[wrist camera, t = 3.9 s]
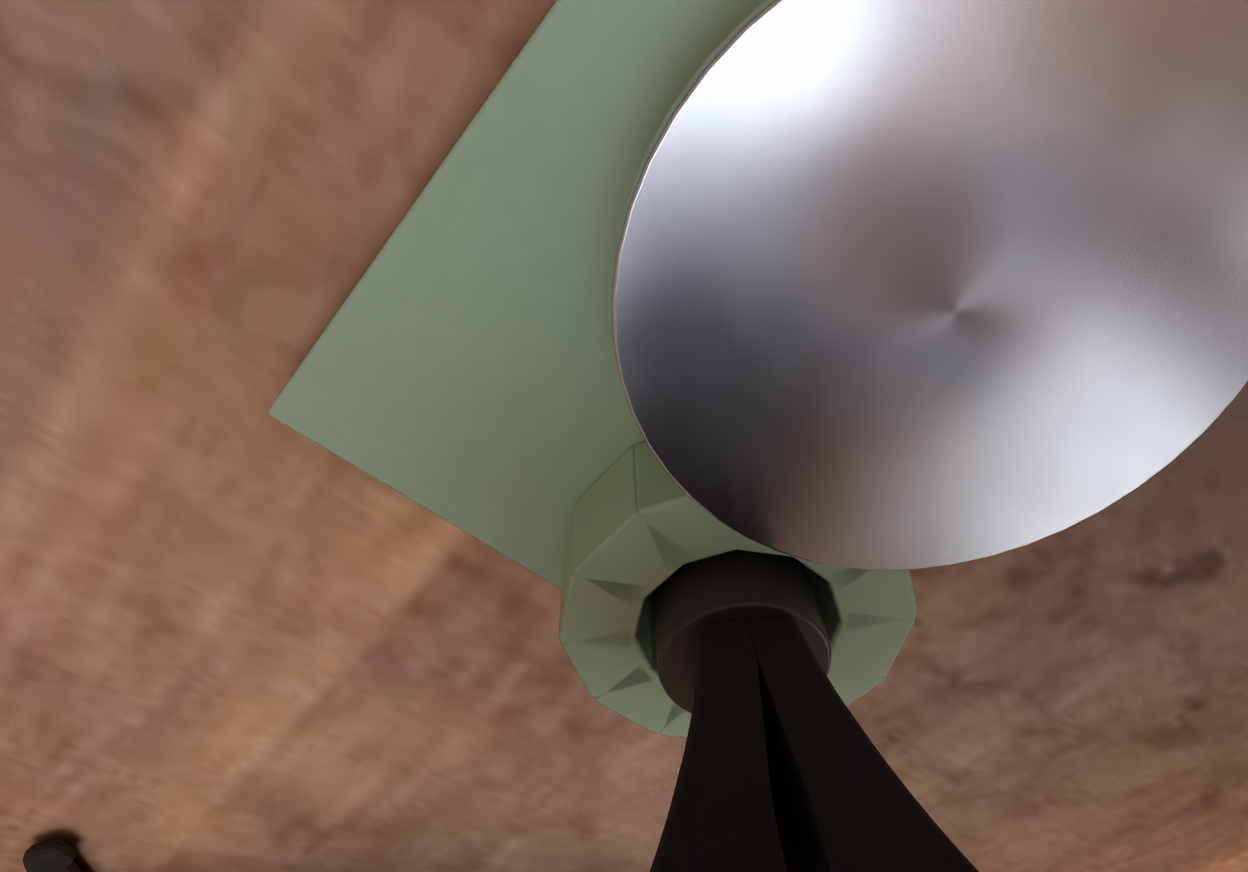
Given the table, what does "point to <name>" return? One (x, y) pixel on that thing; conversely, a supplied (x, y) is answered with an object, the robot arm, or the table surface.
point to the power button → (729, 609)
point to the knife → (50, 857)
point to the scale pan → (939, 268)
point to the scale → (552, 357)
